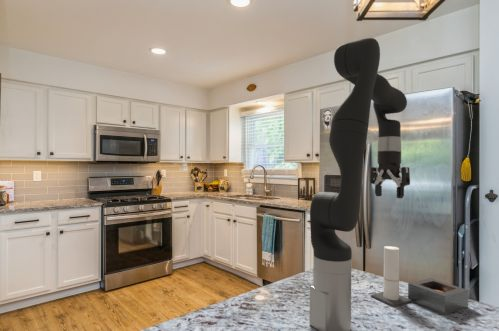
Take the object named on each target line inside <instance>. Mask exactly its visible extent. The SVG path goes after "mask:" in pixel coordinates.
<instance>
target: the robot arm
mask: <svg viewBox="0 0 499 331" xmlns="http://www.w3.org/2000/svg"><path fill="white" fill-rule="evenodd" d="M380 60H381V47H380V44H379V42H378V40H377V39H376V38H373V37H366V38H363V39H362V38H361V39H359V40H355V41H350V42H346V43H343V44H341V45H339V46H338V47H337V48H336V49H335V51H334V55H333V65H334V68H335V71H336V72H337V74H338V75H339V76H340V77H342V78H343V79H344V80H346V81H348V82H350V83H351V84H352V85H354V86H353V87H352V90H351V91H350V92H349V94H348V95H347V96H346V98H345V99H344V100H343V101H342V103H341V104H340V105H339V107H337V109H336V111H335V113H334V115H333V116H332V121H331V123H330V130H329V138H328V139H329V140H328V142H329V147H330V149H331V152H332V154H333V156H334V159H335V162H336V163H337V165H338V169H339V172H340V184H339V185H340V187H339V192H333V191H320V192H317V193H315V195H314V196H313V197H312V200H311V202H310V208H309V224H310V226H309V227H310V228H309V229H310V242H311V247H312V250H313V260H312V261H313V266H312V267H313V270H312V275H313V276H312V285H310V287H309V325H310V326H312V327H313V328H314V329H316V330H317V331H351V329H352V264H353V263H352V259H353V258H352V257H353V256H352V254H353V253H352V247H351V246H350V245H349V244H348V243H347V242H345V241H344V240H343V239H341V237H339V236H338V235H337V233H336V231H339V232H345V233H348V232H351V231H353V230H354V229H355V228H356V226H357V224H358V221H359V218H360V210H361V198H362V194H361V192H362V177H363V176H362V173H363V164H364V156H365V151H366V144H367V140H368V139H367V137H368V131H369V123H370V122H369V121H370V115H371V113H370V112H371V107H373V110H374V114H375V116H376V120H377V125H378V140H377V164H378V167H377V166H376V167H374V166H372V167H370V176H369V177H370V179H369V182H370V184H372V185H374V194H375V196H376V197H382V195H383V190H382V189H383V186H382V184H383V183H384V182H385V181H386V180H390V181H392V182H394V183H395V185H396V186H397V187H396V198H397V199H403V197H404V196H405V187H406V186H410V184H411V176H410V174H411V173H410V167H408V166H403V167H401V163H402V139H401V135H402V134H401V130H402V129H401V122H400V121H399V120H395V119H390V118H387V116H386V115H390V114H398V113H399V114H400V113H402V112H403V111H405V109H406V108H407V106H408V98H407V96H406V94H405V93H404V92H403V91H402V90H400V89H398V88H396V87H394V86H392V85H391V84H390V82H389V80H388V79H386V77H384V76H383V75H382V74H379V73H378V72H379V66H380ZM372 102H373V103H372ZM372 104H373V106H371V105H372ZM400 174H401V175H400Z"/></svg>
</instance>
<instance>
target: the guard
mask: <svg viewBox="0 0 499 331" xmlns="http://www.w3.org/2000/svg"><path fill="white" fill-rule="evenodd" d="M407 285H408V286H407V295H408V296H407V298H408V299H411V300H412V302H413V303H415V304H417V305H419V306H422V307H425V308H427V309H430V310H432V311H435V312H437V313H440V314H441V315H444V316H446V315H450V314H451V313H454V312H459V311H461V310H464V309H467V308H469V290H468V289H466V288H463V287H460V286H456V285H453V284H451V283H447V282H444V281H441V280H439V279H435V278H431V277H429V278H426V279H421V280H417V281H412V282H408V283H407ZM436 290H439V291H443V293H442V292H439V291H436ZM412 302H411V303H412Z"/></svg>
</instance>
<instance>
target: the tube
mask: <svg viewBox="0 0 499 331" xmlns="http://www.w3.org/2000/svg"><path fill="white" fill-rule="evenodd" d="M383 292H384V297H385V298H386V299H389V300H398V299H399V295H400V248H399V247H398V246H393V245H392V246H391V245H385V246H383Z"/></svg>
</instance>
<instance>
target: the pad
mask: <svg viewBox="0 0 499 331" xmlns="http://www.w3.org/2000/svg"><path fill="white" fill-rule="evenodd" d="M370 297H371V298H373V299H375V300H378V301H380V302H382V303H384V304H386V305H389V306H391V307H392V308H394V307H397V306H402V305H406V304H409V303H412V300H411V299H408V297H405V296H403V295H402V294H401V295H400V294H399V299H398V300H389V299H386V298H385V297H384V291H382V292H381V291H380V292H377V293H373V294H372V293H371V294H370Z"/></svg>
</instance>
